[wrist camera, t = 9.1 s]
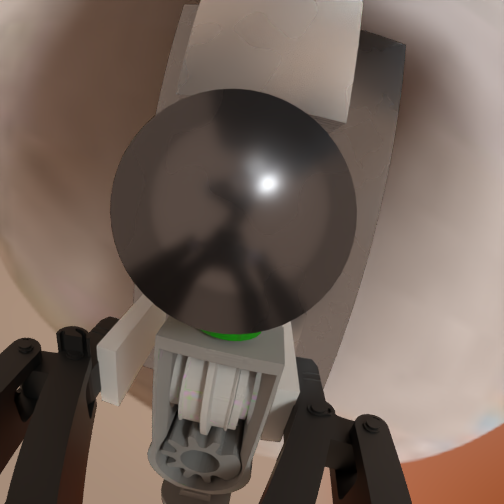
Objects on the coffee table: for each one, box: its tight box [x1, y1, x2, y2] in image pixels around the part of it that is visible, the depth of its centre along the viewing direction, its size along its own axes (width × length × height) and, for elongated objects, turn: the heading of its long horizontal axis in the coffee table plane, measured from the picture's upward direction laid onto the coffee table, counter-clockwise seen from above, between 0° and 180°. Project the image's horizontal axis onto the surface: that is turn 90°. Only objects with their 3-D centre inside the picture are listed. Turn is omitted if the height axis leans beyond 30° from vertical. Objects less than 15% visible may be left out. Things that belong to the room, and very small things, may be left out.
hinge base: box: [110, 0, 406, 389], centre depth 10 cm, size 22×12×13 cm, turn 170°
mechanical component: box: [147, 316, 285, 504], centre depth 12 cm, size 3×10×10 cm, turn 168°
